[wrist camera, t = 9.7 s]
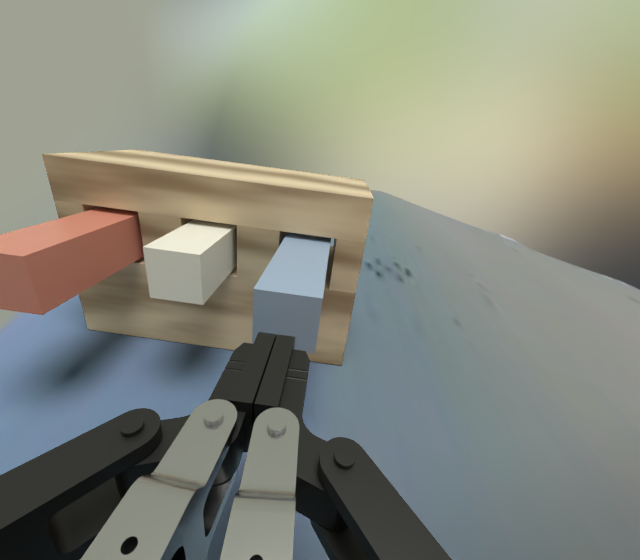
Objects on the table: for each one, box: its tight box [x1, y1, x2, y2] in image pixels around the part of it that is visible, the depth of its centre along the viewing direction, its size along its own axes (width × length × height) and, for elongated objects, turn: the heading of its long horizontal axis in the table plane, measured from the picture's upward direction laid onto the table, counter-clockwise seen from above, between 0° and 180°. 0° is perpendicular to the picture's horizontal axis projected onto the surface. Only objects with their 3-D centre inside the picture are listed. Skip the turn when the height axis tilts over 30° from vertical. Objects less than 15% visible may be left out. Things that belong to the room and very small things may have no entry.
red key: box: [0, 207, 144, 315], centre depth 19 cm, size 11×3×3 cm, turn 175°
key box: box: [42, 150, 374, 366], centre depth 27 cm, size 10×22×14 cm, turn 85°
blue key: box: [252, 232, 331, 354], centre depth 19 cm, size 11×3×3 cm, turn 175°
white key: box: [143, 219, 237, 305], centre depth 22 cm, size 11×3×3 cm, turn 175°
